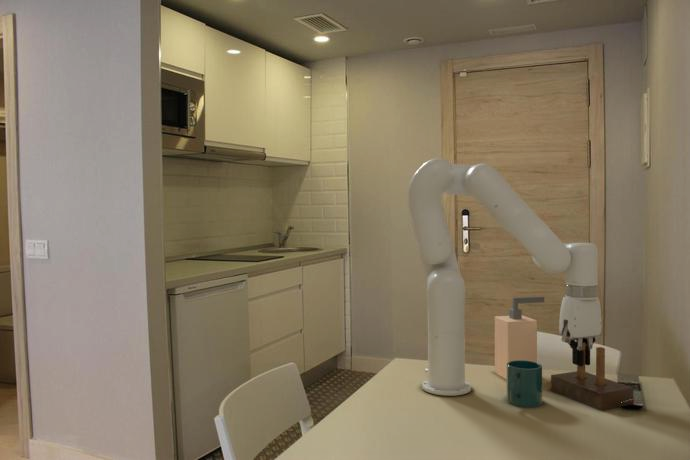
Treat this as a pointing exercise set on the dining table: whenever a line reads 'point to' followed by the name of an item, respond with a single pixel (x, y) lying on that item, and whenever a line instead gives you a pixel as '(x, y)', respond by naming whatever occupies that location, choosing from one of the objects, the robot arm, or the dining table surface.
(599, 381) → the stirrer
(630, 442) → the dining table surface
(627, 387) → the stirrer stand
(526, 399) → the mug
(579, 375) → the stirrer
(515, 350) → the soap dispenser
